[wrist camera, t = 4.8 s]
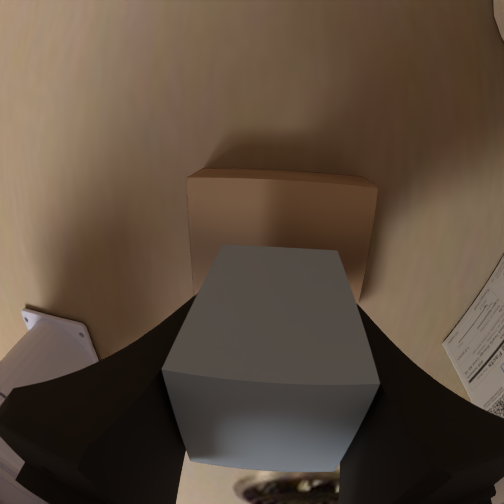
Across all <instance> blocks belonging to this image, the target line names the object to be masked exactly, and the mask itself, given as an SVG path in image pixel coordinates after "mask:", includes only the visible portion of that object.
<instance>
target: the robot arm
mask: <svg viewBox="0 0 504 504" xmlns="http://www.w3.org/2000/svg"><path fill="white" fill-rule="evenodd" d="M197 294H198V293H197ZM197 294H196V295H195V296H193V297H192V298H191V299H190V300H189V301H187V302H186V303H185V304H184V305H183V306H181V307H180V308H179V309H178V310H176V311H175V312H174V313H173V314H172V315H170V316H169V317H168V318H167V319H165V320H164V321H163V322H162V323H160V324H159V325H158V326H156V327H155V328H153V329H152V330H151V331H149V332H148V333H146V334H145V335H144V336H142V337H141V338H139V339H138V340H136V341H135V342H133V343H132V344H130V345H128V346H127V347H125V348H123V349H122V350H120V351H118V352H116V353H115V354H113V355H111V356H109V357H107V358H105V359H103V360H101V361H99V360H98V357H97V355H96V352H95V350H94V347H93V344H92V342H91V339H90V336H89V333H88V330H87V328H86V326H85V325H84V324H83V323H81V322H76V321H72V320H68V319H64V318H60V317H56V316H52V315H48V314H44V313H40V312H37V311H33V310H29V309H26V308H24V309H22V310H21V313H22V316H23V319H24V321H25V323H26V326H27V328H28V330H29V331H28V332H27V333H26V334H25V335H24V336H23V337H22V338H21V339H20V340H19V341H18V343H17V344H16V345H15V346H14V347H13V348H12V349H11V350H10V351H9V352H8V353H7V355H6V356H5V357H4V358H3V359H2V360H1V361H0V504H176V499H177V493H178V487H179V482H180V476H181V471H182V466H183V461H184V456H185V452H186V448H185V445H184V442H183V439H182V436H181V433H180V430H179V427H178V424H177V421H176V418H175V415H174V411H173V408H172V405H171V402H170V398H169V395H168V391H167V388H166V384H165V381H164V377H163V373H162V367H163V365H164V363H165V361H166V359H167V357H168V354H169V352H170V350H171V348H172V346H173V344H174V342H175V340H176V338H177V335H178V333H179V331H180V329H181V327H182V325H183V323H184V321H185V319H186V317H187V315H188V313H189V311H190V308H191V306H192V304H193V302H194V300H195V298H196V296H197ZM356 305H357V308H358V311H359V314H360V317H361V320H362V323H363V326H364V329H365V333H366V336H367V339H368V342H369V346H370V349H371V353H372V356H373V360H374V363H375V367H376V370H377V374H378V377H379V381H380V385H379V387H378V390H377V392H376V394H375V396H374V398H373V401H372V403H371V405H370V407H369V409H368V411H367V413H366V415H365V417H364V419H363V421H362V423H361V425H360V427H359V429H358V431H357V433H356V435H355V436H354V438H353V440H352V442H351V444H350V446H349V447H348V449H347V451H346V453H345V454H344V456H343V458H342V459H341V461H340V488H339V503H338V504H492V502H491V497H493V496H495V494H496V490H495V486H494V484H495V483H496V482H498V481H499V480H500V479H501V478H503V477H504V418H502V417H500V416H497V415H495V414H492V413H490V412H488V411H486V410H484V409H482V408H480V407H478V406H476V405H474V404H472V403H470V402H469V401H467V400H465V399H463V398H462V397H460V396H458V395H457V394H455V393H454V392H452V391H451V390H449V389H448V388H446V387H445V386H443V385H442V384H440V383H439V382H438V381H436V380H435V379H433V378H432V377H431V376H430V375H428V374H427V373H426V372H425V371H423V370H422V369H421V368H420V367H418V366H417V365H416V364H415V363H414V362H413V361H411V360H410V359H409V358H408V357H407V356H406V355H405V354H404V353H403V352H402V351H401V350H400V349H399V348H398V347H397V346H396V345H395V344H394V343H393V342H392V341H391V340H390V339H389V338H388V337H387V336H386V335H385V334H384V333H383V332H382V331H381V330H380V328H379V327H378V326H377V325H376V324H375V323H374V322H373V321H372V320H371V319H370V317H369V316H368V315H367V314H366V313H365V312H364V311H363V310H362V309H361V307H360V306H359V305H358V304H357V303H356ZM502 504H504V502H503V503H502Z"/></svg>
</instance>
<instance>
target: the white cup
mask: <svg viewBox="0 0 504 504" xmlns="http://www.w3.org/2000/svg"><path fill="white" fill-rule="evenodd" d="M493 9H494V18H495V20H496V23H497V26H498V29H499V32H500V35H501V37H502V39H503V41H504V0H493Z"/></svg>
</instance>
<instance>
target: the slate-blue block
mask: <svg viewBox="0 0 504 504" xmlns="http://www.w3.org/2000/svg"><path fill="white" fill-rule="evenodd" d="M162 373H163V377H164V381H165V384H166V388H167V391H168V395H169V398H170V402H171V405H172V408H173V411H174V415H175V418H176V421H177V424H178V427H179V430H180V433H181V436H182V439H183V442H184V445H185V448H186V451H187V453H188V456H189V459H190V461H193V462H199V463H205V464H211V465H217V466H224V467H232V468H241V469H251V470H263V471H281V472H331V471H335V469H336V468H337V466H338V464H339V463H340V461H341V459H342V458H343V456H344V454H345V453H346V451H347V449H348V447H349V446H350V444H351V442H352V440H353V438H354V436H355V435H356V433H357V431H358V429H359V427H360V425H361V423H362V421H363V419H364V417H365V415H366V413H367V411H368V409H369V407H370V405H371V403H372V401H373V398H374V396H375V394H376V392H377V390H378V387H379V385H380V381H379V377H378V374H377V370H376V367H375V363H374V360H373V356H372V353H371V349H370V346H369V342H368V339H367V336H366V333H365V329H364V326H363V323H362V320H361V317H360V314H359V311H358V308H357V305H356V302H355V299H354V296H353V293H352V290H351V287H350V284H349V281H348V278H347V275H346V273H345V270H344V267H343V264H342V262H341V259H340V256H339V253H338V251H337V250H320V249H302V248H284V247H266V246H248V245H229V244H222V246H221V248H220V250H219V252H218V254H217V256H216V258H215V260H214V262H213V264H212V266H211V268H210V270H209V272H208V274H207V276H206V278H205V280H204V282H203V284H202V286H201V288H200V290H199V292H198V294H197V296H196V298H195V300H194V302H193V304H192V306H191V308H190V311H189V313H188V315H187V317H186V319H185V321H184V323H183V325H182V327H181V329H180V331H179V333H178V335H177V338H176V340H175V342H174V344H173V346H172V348H171V350H170V352H169V354H168V357H167V359H166V361H165V363H164V365H163V367H162Z"/></svg>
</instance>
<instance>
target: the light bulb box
mask: <svg viewBox="0 0 504 504" xmlns="http://www.w3.org/2000/svg"><path fill="white" fill-rule="evenodd" d="M443 347H444V349H445V350H446V352H447V354H448V356H449V358H450V360H451V361H452V363H453V365H454V367H455V369H456V371H457V373H458V375H459V377H460V379H461V381H462V383H463V385H464V387H465V389H466V391H467V393H468V395H469V397H470V400H471V402H472V404H474V405H476V406H478V407H480V408H482V409H484V410H486V411H488V412H490V413H492V414H495V415H497V416H500V417H502V418H504V255H503V257H502V259H501V261H500V262H499V264H498V266H497V267H496V269H495V271H494V272H493V274H492V275H491V277H490V279H489V280H488V282H487V283H486V285H485V286H484V288H483V289H482V291H481V292H480V294H479V295H478V297H477V298H476V300H475V301H474V303H473V304H472V305H471V307H470V308H469V310H468V311H467V312H466V314H465V315H464V316H463V318H462V319H461V320H460V322H459V323H458V324H457V326H456V327H455V328H454V330H453V331H452V332H451V333H450V335H449V336H448V337H447V338H446V339H445V341H444V342H443Z"/></svg>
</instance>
